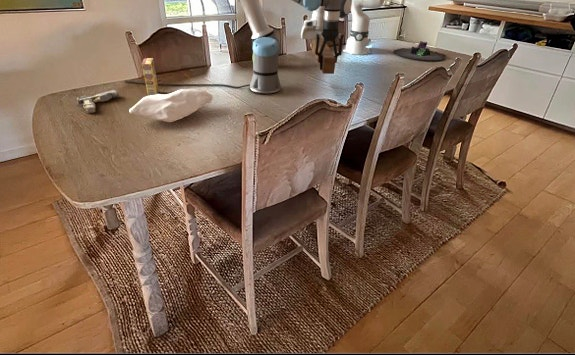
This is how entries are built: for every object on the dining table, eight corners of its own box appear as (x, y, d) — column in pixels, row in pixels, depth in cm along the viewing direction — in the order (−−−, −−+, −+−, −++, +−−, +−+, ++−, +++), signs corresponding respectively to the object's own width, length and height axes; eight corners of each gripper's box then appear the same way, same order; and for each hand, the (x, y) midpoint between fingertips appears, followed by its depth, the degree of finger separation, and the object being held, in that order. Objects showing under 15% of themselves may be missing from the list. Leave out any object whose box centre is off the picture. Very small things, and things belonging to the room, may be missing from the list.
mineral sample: (456, 57, 245) (459, 42, 241) (423, 63, 228) (426, 48, 224) (414, 49, 270) (416, 36, 266) (381, 54, 253) (383, 40, 248)
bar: (334, 73, 180) (335, 57, 176) (322, 73, 180) (324, 57, 176) (320, 49, 223) (321, 35, 219) (311, 49, 222) (312, 35, 218)
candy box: (157, 97, 164) (152, 63, 155) (147, 98, 163) (141, 63, 155) (158, 91, 171) (153, 57, 163) (149, 91, 170) (143, 58, 162)
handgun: (128, 97, 156) (111, 87, 164) (86, 107, 144) (70, 97, 152) (129, 103, 157) (113, 94, 165) (88, 114, 146) (72, 103, 154)
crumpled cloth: (117, 110, 146) (113, 90, 140) (195, 92, 166) (194, 73, 160) (143, 139, 134) (140, 118, 128) (223, 116, 154) (224, 96, 148)
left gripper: (348, 19, 176) (343, 67, 189) (310, 18, 175) (307, 66, 188) (352, 22, 170) (346, 71, 182) (312, 21, 169) (309, 71, 181)
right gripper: (336, 21, 212) (333, 46, 219) (301, 20, 210) (300, 45, 218) (338, 23, 206) (335, 48, 214) (302, 22, 205) (301, 48, 213)
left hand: (326, 69), depth 185 cm, fingers closed on bar, 6 cm apart
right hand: (317, 47), depth 216 cm, fingers closed on bar, 5 cm apart
